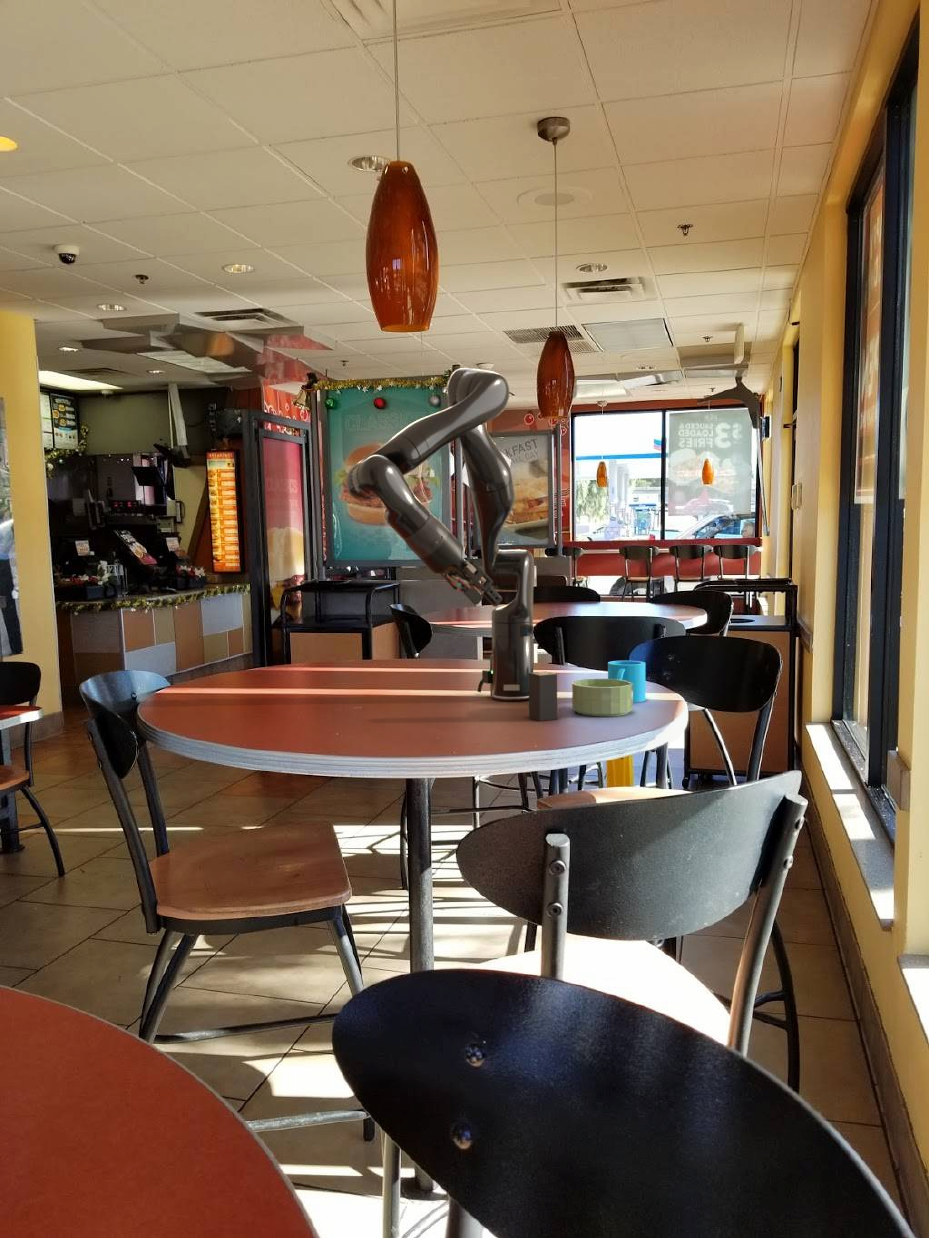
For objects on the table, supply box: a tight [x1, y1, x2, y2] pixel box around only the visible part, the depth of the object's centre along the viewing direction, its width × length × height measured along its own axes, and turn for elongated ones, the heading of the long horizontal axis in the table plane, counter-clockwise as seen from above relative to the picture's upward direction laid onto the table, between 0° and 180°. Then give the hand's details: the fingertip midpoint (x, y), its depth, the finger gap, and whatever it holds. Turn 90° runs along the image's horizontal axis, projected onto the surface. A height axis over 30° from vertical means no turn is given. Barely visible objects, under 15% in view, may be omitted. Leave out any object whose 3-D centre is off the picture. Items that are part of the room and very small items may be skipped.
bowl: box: [571, 678, 634, 718], centre depth 190 cm, size 12×12×6 cm
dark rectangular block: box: [528, 671, 558, 722], centre depth 183 cm, size 4×4×9 cm
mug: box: [607, 660, 646, 704], centre depth 202 cm, size 12×8×8 cm
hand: (489, 602), depth 177 cm, fingers open, 8 cm apart
